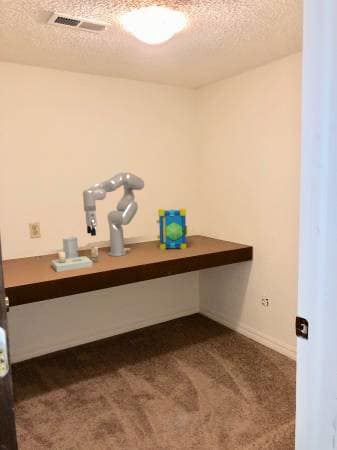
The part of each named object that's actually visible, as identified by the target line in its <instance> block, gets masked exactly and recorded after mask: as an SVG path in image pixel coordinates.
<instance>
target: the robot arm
mask: <svg viewBox="0 0 337 450" xmlns="http://www.w3.org/2000/svg"><path fill="white" fill-rule="evenodd" d="M122 186H123V195H122V197H121V198H120V200H119V201H118V202H117V205H116V210H111V211H109V212H108V214H107V221H108V227H109V243H110V244H109V245H110V247H109V248H110V252H108V256H110V257H111V256H112V257H120V256H125V255H127V252H128V251H129V252H130V251H131V248H130V247H125V243H124V240H125V239H124V229H123V226H126V225H129V224H130V223H131V222H132V220H133V219H134V217H135V215H136V214H137V212H138V210H139V209H138V208H139V205H138V202H136V201H135V196H136V195H135V193H134V191H141V190H143V189H144V187H145V181H144V180H143V178H141V177H139V176H138V175H135V174H134V173H131V172H120V173H117V174H115V175H114V176H112V177H110V178H109V179H107V180H105V181H102V182H98V183H97V184H95V185H92V186H90V187H89V188H88V189H84V190H83V192H82V196H83V197H82V198H83V200H82V201H83V211H84V212H85V224H86V234H90V236H91V237H95V236H97V231H96V230H97V229H96V227H97V226H98V224H97V216H96V211H97V205H96V201H103V200H105V199H106V197H107V193H112V192H115V191H116V190H117V189H119V188H120V187H122Z"/></svg>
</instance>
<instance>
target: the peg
mask: <svg viewBox="0 0 337 450" xmlns="http://www.w3.org/2000/svg"><path fill="white" fill-rule="evenodd" d="M91 261H92V264H94V263H99V250H98V246H91Z"/></svg>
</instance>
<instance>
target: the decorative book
mask: <svg viewBox="0 0 337 450" xmlns="http://www.w3.org/2000/svg"><path fill="white" fill-rule="evenodd" d="M186 216H187V210H186V207H185V208H183V207H182V208H179V210H178V209H168V210H165V208H158V218H159V219H157V220H156V224H158V225H159V234H158V235H157V236H156V239H157V240H159V251H163V250H164V251H165V250H166V249H178V248H180V250H187V236H188V225H186V223H187V222H186V221H187V220H186Z"/></svg>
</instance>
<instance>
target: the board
mask: <svg viewBox="0 0 337 450" xmlns="http://www.w3.org/2000/svg"><path fill="white" fill-rule="evenodd" d="M57 253H58V259H55V260H53V259H52V260H51V267H52V268H54V270H55V271H56V272H57V273H59V272H65V271H66V272H67V271H72V270H79V269H84V268H85V269H87V268H93V262H92V259H90V258H89V257H87V256H86V255H85V256H78V257H75V258H68V259H65V252H64V251H58V252H57Z"/></svg>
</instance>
